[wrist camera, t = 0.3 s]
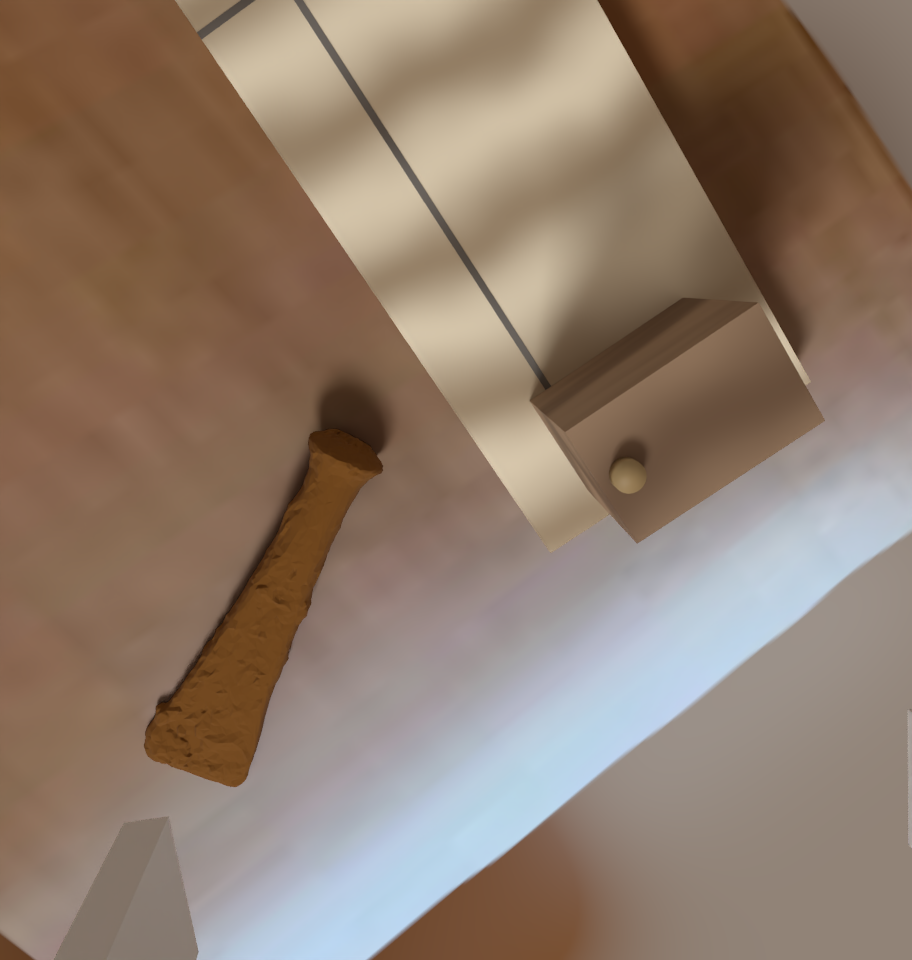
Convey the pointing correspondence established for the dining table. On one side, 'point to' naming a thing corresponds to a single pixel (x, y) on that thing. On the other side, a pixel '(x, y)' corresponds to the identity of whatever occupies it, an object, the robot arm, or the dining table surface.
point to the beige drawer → (678, 410)
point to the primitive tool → (260, 624)
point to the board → (487, 196)
